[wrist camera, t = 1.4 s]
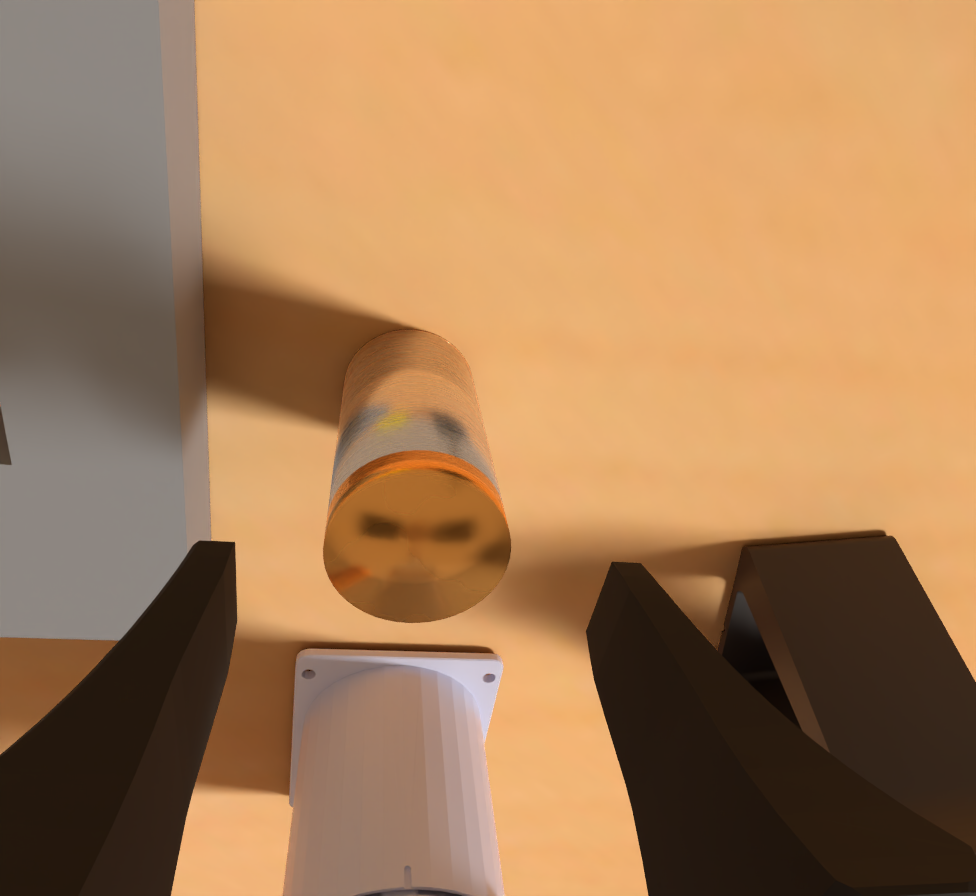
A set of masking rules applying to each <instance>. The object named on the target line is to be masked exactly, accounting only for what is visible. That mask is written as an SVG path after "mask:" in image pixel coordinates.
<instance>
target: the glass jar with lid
mask: <svg viewBox="0 0 976 896" xmlns="http://www.w3.org/2000/svg"><path fill="white" fill-rule="evenodd" d="M510 552H511V539H510V533H509V529H508V524H507V520H506V516H505V512H504V508H503V503H502V499H501V495H500V491H499V487H498V482H497V478H496V474H495V470H494V466H493V461H492V457H491V453H490V449H489V445H488V440H487V436H486V432H485V428H484V424H483V419H482V415H481V411H480V407H479V403H478V399H477V394H476V390H475V386H474V382H473V378H472V374H471V371H470V368H469V365H468V363H467V362H466V360H465V358H464V357H463V355H462V354H461V353H460V352H459V350H458V349H457V348H456V347H455V346H453V345H452V344H451V343H450V342H448V341H447V340H445V339H443V338H442V337H440V336H437V335H435V334H433V333H429V332H426V331H421V330H412V329H405V330H396V331H391V332H388V333H385V334H382V335H380V336H378V337H376V338H374V339H372V340H371V341H369V342H368V343H366V344H365V345H364V346H363V347H362V348H361V349H360V350H359V351H358V352H357V353H356V354H355V356H354V357H353V359H352V360H351V362H350V364H349V366H348V368H347V371H346V375H345V380H344V387H343V395H342V403H341V411H340V419H339V427H338V435H337V443H336V451H335V459H334V467H333V475H332V483H331V491H330V499H329V507H328V515H327V523H326V531H325V539H324V547H323V559H324V564H325V569H326V571H327V574H328V577H329V579H330V581H331V582H332V584H333V586H334V587H335V588H336V590H337V591H338V592H339V594H340V595H342V596H343V597H344V598H345V599H346V600H347V601H348V602H349V603H351V604H352V605H353V606H355V607H356V608H358V609H360V610H362V611H363V612H365V613H368V614H370V615H373V616H375V617H378V618H382V619H385V620H390V621H395V622H405V623H421V622H431V621H436V620H441V619H444V618H448V617H451V616H454V615H456V614H459V613H461V612H463V611H465V610H467V609H469V608H471V607H473V606H474V605H476V604H477V603H478V602H480V601H481V600H483V599H484V598H485V597H486V596H487V595H488V594H489V593H490V592H491V591H492V590H493V589H494V588H495V587H496V586H497V584H498V583H499V581H500V580H501V578H502V577H503V575H504V573H505V571H506V569H507V565H508V562H509V559H510Z"/></svg>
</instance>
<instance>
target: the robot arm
mask: <svg viewBox="0 0 976 896" xmlns="http://www.w3.org/2000/svg"><path fill="white" fill-rule="evenodd" d="M236 624H237V596H236V560H235V542H221V541H202V540H199V541H198V542H196V543H195V544H194V545H193V546H192V547H191V549H190V550H189V552H188V554H187V555H186V557H185V558H184V560H183V561H182V562H181V564H180V565H179V567H178V568H177V570H176V571H175V572H174V574H173V575H172V576H171V578H170V579H169V581H168V582H167V583H166V585H165V586H164V587H163V588H162V590H161V591H160V592H159V594H158V595H157V596H156V598H155V599H154V600H153V601H152V603H151V604H150V605H149V606H148V607H147V609H146V610H145V611H144V612H143V613H142V615H141V616H140V617H139V618H138V620H137V621H136V622H135V623H134V624H133V626H132V627H131V628H130V629H129V630H128V632H127V633H126V634H125V635H124V636H123V637H122V638H121V639H120V641H119V642H118V643H117V644H116V645H115V646H114V647H113V648H112V649H111V650H110V651H109V653H108V654H107V655H106V656H105V657H104V658H103V659H102V660H101V661H100V662H99V663H98V665H97V666H96V667H95V668H94V669H93V670H92V671H91V672H90V673H89V674H88V675H87V676H86V677H85V678H84V679H83V680H82V681H81V682H80V683H79V684H78V685H77V686H76V687H75V688H74V689H73V690H72V691H71V692H70V693H69V694H68V695H67V696H66V697H65V698H64V699H63V700H62V701H61V702H60V703H59V704H57V705H56V706H55V707H54V708H53V709H52V710H51V711H50V712H49V713H48V714H47V715H46V716H45V717H44V718H42V719H41V720H40V721H39V722H38V723H37V724H36V725H34V726H33V727H32V728H31V729H30V730H29V731H28V732H26V733H25V734H24V735H23V736H22V737H21V738H20V739H18V740H17V741H16V742H15V743H14V744H13V745H11V746H10V747H9V748H8V749H7V750H6V751H4V752H3V753H2V754H1V755H0V896H171V891H172V886H173V881H174V875H175V870H176V865H177V860H178V855H179V850H180V845H181V840H182V835H183V830H184V825H185V820H186V816H187V812H188V808H189V804H190V800H191V796H192V792H193V789H194V785H195V782H196V779H197V775H198V772H199V769H200V765H201V762H202V759H203V755H204V752H205V749H206V745H207V742H208V739H209V735H210V732H211V729H212V725H213V722H214V718H215V715H216V712H217V708H218V705H219V702H220V698H221V695H222V691H223V688H224V685H225V681H226V678H227V674H228V669H229V664H230V659H231V653H232V648H233V642H234V636H235V630H236ZM586 634H587V640H588V647H589V653H590V660H591V665H592V671H593V676H594V681H595V684H596V688H597V691H598V695H599V698H600V702H601V705H602V708H603V712H604V715H605V718H606V722H607V725H608V728H609V731H610V735H611V738H612V741H613V744H614V748H615V751H616V754H617V758H618V761H619V764H620V767H621V771H622V774H623V777H624V780H625V784H626V787H627V791H628V795H629V799H630V803H631V806H632V811H633V816H634V821H635V826H636V831H637V836H638V841H639V846H640V851H641V856H642V861H643V867H644V872H645V878H646V884H647V889H648V895H649V896H976V853H975V852H974V850H973V849H972V847H971V846H970V845H968V844H966V843H965V842H963V841H961V840H960V839H958V838H956V837H955V836H953V835H951V834H950V833H948V832H946V831H945V830H943V829H941V828H940V827H938V826H936V825H935V824H933V823H932V822H930V821H928V820H927V819H925V818H923V817H922V816H920V815H918V814H917V813H915V812H913V811H912V810H910V809H909V808H907V807H905V806H904V805H902V804H901V803H899V802H898V801H896V800H895V799H893V798H892V797H890V796H889V795H888V794H886V793H885V792H883V791H882V790H880V789H879V788H877V787H876V786H874V785H873V784H871V783H870V782H868V781H867V780H866V779H864V778H863V777H861V776H860V775H859V774H857V773H856V772H854V771H853V770H852V769H850V768H849V767H847V766H846V765H845V764H843V763H842V762H841V761H840V760H838V759H837V758H836V757H834V756H833V755H832V754H831V753H829V752H828V751H827V750H825V749H824V748H823V747H821V746H820V745H819V744H818V743H816V742H815V741H814V740H812V739H811V738H810V737H809V736H808V735H806V734H805V733H804V732H803V731H802V730H800V729H799V728H798V727H797V726H796V725H794V724H793V723H792V722H791V721H790V720H789V719H788V718H786V717H785V716H784V715H783V714H782V713H781V712H780V711H778V710H777V709H776V708H775V707H774V706H773V705H772V704H771V703H769V702H768V701H767V700H766V699H765V698H764V697H763V696H762V695H761V694H760V693H759V692H758V691H757V690H755V689H754V688H753V687H752V686H751V685H750V684H749V683H748V682H747V681H746V680H745V679H744V678H743V677H742V676H741V675H740V674H739V673H738V672H737V671H736V670H735V669H734V668H733V667H732V666H731V665H730V664H729V663H728V662H727V660H726V659H725V658H724V657H723V656H722V655H721V654H720V653H719V652H718V651H717V650H716V649H715V648H714V647H713V646H712V644H711V643H710V642H709V641H708V640H707V639H706V638H705V637H704V636H703V635H702V633H701V632H700V631H699V630H698V629H697V628H696V627H695V626H694V624H693V623H692V622H691V621H690V620H689V619H688V618H687V616H686V615H685V614H684V613H683V612H682V611H681V610H680V608H679V607H678V606H677V605H676V604H675V603H674V601H673V600H672V599H671V598H670V597H669V596H668V594H667V593H666V592H665V591H664V590H663V588H662V587H661V586H660V585H659V584H658V583H657V581H656V580H655V579H654V578H653V577H652V576H651V574H650V573H649V572H648V571H647V570H646V569H645V568H644V566H643V565H642V564H641V563H626V562H612V563H611V566H610V568H609V571H608V574H607V577H606V579H605V582H604V585H603V587H602V590H601V593H600V595H599V598H598V601H597V603H596V606H595V609H594V612H593V614H592V617H591V620H590V622H589V625H588V628H587V630H586ZM308 669H309V670H313V671H306V670H308ZM502 672H503V662H502V659H501V657H500V656H499V655H497V654H491V653H454V652H418V651H382V650H346V649H305V650H302V651H300V652H299V653H298V655H297V658H296V666H295V687H294V708H293V729H292V750H291V771H290V793H289V804H290V806H291V807H293V813H292V821H291V829H290V838H289V846H288V854H287V863H286V871H285V879H284V888H283V896H505V894H504V886H503V879H502V872H501V864H500V857H499V849H498V842H497V835H496V827H495V820H494V813H493V805H492V798H491V791H490V783H489V776H488V768H487V761H486V754H485V746H484V743H485V739H486V735H487V731H488V727H489V723H490V719H491V715H492V711H493V707H494V703H495V699H496V695H497V691H498V687H499V684H500V680H501V676H502ZM486 674H490V675H486Z"/></svg>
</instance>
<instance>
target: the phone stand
mask: <svg viewBox="0 0 976 896" xmlns="http://www.w3.org/2000/svg"><path fill="white" fill-rule="evenodd" d="M724 626H725V631H722V635H721V639H720V643H719V647H718V652H719V653H720V654H721V655H722V656H723V657H724V658H725V659H726V660H727V662H728V663H729V664H730V665H731V666H732V667H733V668H734V669H735V670H736V671H737V672H738V673H739V674H740V675H741V676H742V677H743V678H744V679H745V680H746V681H747V682H748V683H749V684H750V685H751V686H752V687H753V688H754V689H755V690H757V691H758V692H759V693H760V694H761V695H762V696H763V697H764V698H765V699H766V700H767V701H768V702H769V703H771V704H772V705H773V706H774V707H775V708H776V709H777V710H778V711H780V712H781V713H782V714H783V715H784V716H785V717H786V718H788V719H789V720H790V721H791V722H792V723H793V724H794V725H796V726H797V727H798V728H799V729H800V730H802V731H803V732H804V733H805V734H806V735H808V736H809V737H810V738H811V739H812V740H814V741H815V742H816V743H818V744H819V745H820V746H821V747H823V748H824V749H825V750H827V751H828V752H829V753H831V754H832V755H833V756H834V757H836V758H837V759H838V760H840V761H841V762H842V763H843V764H845V765H846V766H847V767H849V768H850V769H852V770H853V771H854V772H856V773H857V774H859V775H860V776H861V777H863V778H864V779H866V780H867V781H868V782H870V783H871V784H873V785H874V786H876V787H877V788H879V789H880V790H882V791H883V792H885V793H886V794H888V795H889V796H890V797H892V798H893V799H895V800H896V801H898V802H899V803H901V804H902V805H904V806H905V807H907V808H909V809H910V810H912V811H913V812H915V813H917V814H918V815H920V816H922V817H923V818H925V819H927V820H928V821H930V822H932V823H933V824H935V825H936V826H938V827H940V828H941V829H943V830H945V831H946V832H948V833H950V834H951V835H953V836H955V837H956V838H958V839H960V840H961V841H963V842H965V843H966V844H968V845H970V846H971V847H972V849H973V850H974V852H975V853H976V682H975V680H974V679H973V677H972V675H971V673H970V671H969V670H968V668H967V666H966V664H965V662H964V661H963V659H962V657H961V655H960V654H959V652H958V650H957V648H956V646H955V645H954V643H953V641H952V639H951V637H950V636H949V634H948V632H947V630H946V628H945V627H944V625H943V623H942V621H941V620H940V618H939V616H938V614H937V612H936V611H935V609H934V607H933V605H932V603H931V602H930V600H929V598H928V596H927V594H926V593H925V591H924V589H923V587H922V585H921V584H920V582H919V580H918V578H917V577H916V575H915V573H914V571H913V569H912V568H911V566H910V564H909V562H908V560H907V559H906V557H905V555H904V553H903V551H902V550H901V548H900V546H899V544H898V542H897V541H896V539H895V538H894V537H893V536H879V537H866V538H853V539H840V540H827V541H813V542H800V543H787V544H774V545H761V546H748V547H743V549H742V552H741V556H740V560H739V564H738V568H737V573H736V577H735V581H734V585H733V589H732V593H731V597H730V601H729V606H728V610H727V614H726V618H725V622H724Z"/></svg>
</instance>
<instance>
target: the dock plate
mask: <svg viewBox="0 0 976 896" xmlns="http://www.w3.org/2000/svg"><path fill="white" fill-rule="evenodd" d="M0 406H1V407H0V637H13V638H48V639H84V640H119V641H120V639H121V638H122V637H123V636H124V635H125V634H126V633H127V632H128V630H129V629H130V628H131V627H132V626H133V624H134V623H135V622H136V621H137V620H138V618H139V617H140V616H141V615H142V613H143V612H144V611H145V610H146V609H147V607H148V606H149V605H150V604H151V603H152V601H153V600H154V599H155V598H156V596H157V595H158V594H159V592H160V591H161V590H162V588H163V587H164V586H165V585H166V583H167V582H168V581H169V579H170V578H171V576H172V575H173V574H174V572H175V571H176V570H177V568H178V567H179V565H180V564H181V562H182V561H183V560H184V558H185V557H186V555H187V554H188V552H189V550H190V549H191V547H192V546H193V545H194V544H195V543H196V542H198V541H199V540H202V541H211V521H210V489H209V457H208V425H207V394H206V362H205V330H204V298H203V267H202V235H201V203H200V171H199V139H198V108H197V76H196V44H195V12H194V0H0Z"/></svg>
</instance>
